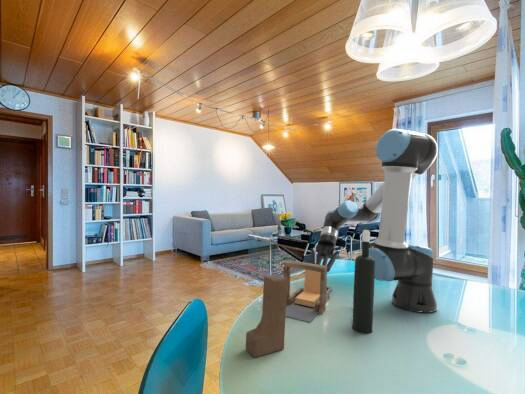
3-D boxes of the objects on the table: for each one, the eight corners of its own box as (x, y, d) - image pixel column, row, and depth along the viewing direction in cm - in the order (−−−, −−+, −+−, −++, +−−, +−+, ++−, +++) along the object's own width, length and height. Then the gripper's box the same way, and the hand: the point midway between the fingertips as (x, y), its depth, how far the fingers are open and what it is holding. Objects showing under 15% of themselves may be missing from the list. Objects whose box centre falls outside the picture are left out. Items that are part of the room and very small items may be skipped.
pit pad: (313, 287, 126) (313, 284, 126) (331, 290, 123) (331, 287, 123) (308, 291, 119) (308, 289, 119) (327, 295, 116) (327, 292, 116)
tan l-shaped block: (305, 294, 115) (306, 266, 115) (322, 297, 111) (323, 269, 111) (295, 303, 104) (296, 273, 104) (313, 307, 101) (315, 276, 101)
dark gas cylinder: (348, 326, 87) (352, 229, 88) (362, 324, 90) (366, 229, 90) (361, 335, 82) (365, 231, 82) (376, 332, 84) (380, 231, 85)
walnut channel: (297, 292, 117) (299, 255, 117) (333, 300, 110) (335, 260, 111) (282, 304, 103) (284, 262, 103) (322, 314, 96) (324, 268, 96)
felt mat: (287, 304, 104) (287, 303, 104) (319, 311, 99) (320, 310, 99) (275, 314, 94) (275, 313, 94) (310, 322, 89) (310, 321, 89)
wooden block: (253, 358, 67) (257, 282, 68) (244, 349, 71) (248, 277, 71) (284, 349, 72) (287, 278, 72) (274, 341, 76) (277, 274, 76)
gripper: (343, 245, 129) (333, 292, 114) (315, 242, 135) (302, 286, 120) (341, 234, 125) (330, 282, 110) (312, 232, 131) (298, 276, 116)
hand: (315, 284), depth 115 cm, fingers closed
